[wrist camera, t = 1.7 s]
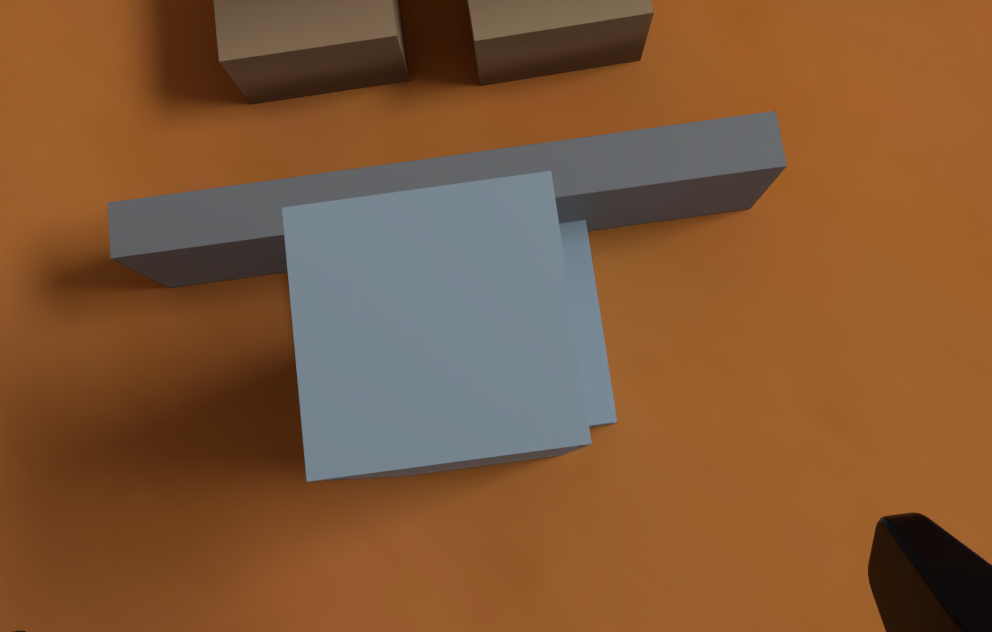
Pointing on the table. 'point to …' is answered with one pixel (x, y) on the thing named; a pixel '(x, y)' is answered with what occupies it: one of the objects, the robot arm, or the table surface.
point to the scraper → (449, 283)
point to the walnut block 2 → (555, 36)
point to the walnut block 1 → (309, 46)
